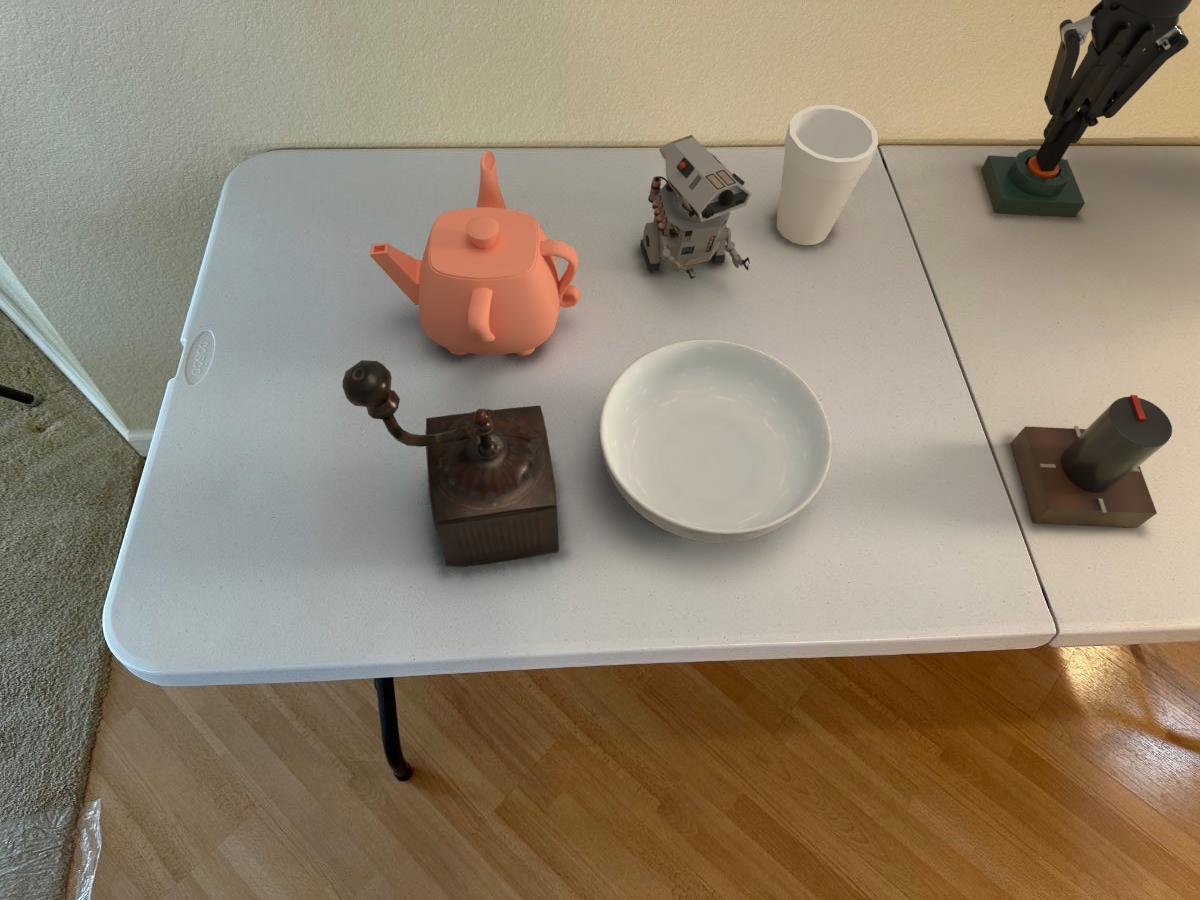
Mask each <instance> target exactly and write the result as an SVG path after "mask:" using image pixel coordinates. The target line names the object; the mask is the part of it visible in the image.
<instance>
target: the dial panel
mask: <svg viewBox="0 0 1200 900" xmlns="http://www.w3.org/2000/svg"><path fill="white" fill-rule="evenodd" d="M1086 429H1087V428H1080V427H1079V425H1073V428H1069V427H1068V428H1067V427H1047V426H1028V425H1027V426H1024V427H1023V428H1022V429H1021V430H1020V432H1019V433H1018V434H1017V435H1016V436H1015V437H1014V438H1013V439H1012V440H1011V442H1010V445H1011V448H1012V452H1013V456H1014V459H1015V463H1016V466H1017V470H1018V474H1019V477H1020V480H1021V484H1022V488H1023V492H1024V495H1025V498H1026V502H1027V506H1028V510H1029V514H1030V517H1031V520H1032V523H1033V524H1053V525H1073V526H1092V527H1093V526H1094V527H1115V528H1116V527H1117V528H1118V527H1119V528H1135V529H1137V528H1139V527H1140V526H1142V525H1143V524H1144V523H1146V522H1147V521H1149V520H1150V519H1151V518H1153V517H1154V516H1156V515H1157V514H1158V511H1157V509H1156V506H1155V504H1154V501H1153V499H1152V496H1151V493H1150V489H1149V487H1148V485H1147V482H1146V479H1145V477H1144V474H1143V471H1142V469H1141V465H1140V466H1138V467H1137V468H1136V469H1135V470H1134V471H1132V472H1131V473H1130V474H1129V475H1128V476H1127V477H1125V478H1124V479H1123V480H1122V481H1121V482H1119V483H1118V484H1117V485H1116V486H1115V487H1113V488H1112V489H1110V490H1108V491H1105V492H1093V491H1089V490H1086V489H1084V488H1082V487H1080V486H1078V485H1077V484H1075V483H1074V482H1073V481H1072V480H1071V479H1070V478H1069V477H1068V476H1067V475H1066V473H1065V471H1064V469H1063V467H1062V455H1063V453H1064V451H1065V450H1066V449H1067V448H1068V447H1069V446H1070V445H1071V444H1072V443H1073V442H1074V441H1075V440H1076V439H1077V438H1078V437H1079V436H1080V435H1081V434H1082V433H1083V432H1084V431H1085V430H1086Z"/></svg>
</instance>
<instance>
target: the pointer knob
mask: <svg viewBox="0 0 1200 900" xmlns="http://www.w3.org/2000/svg"><path fill="white" fill-rule="evenodd" d="M1085 429H1086V430H1085V431H1084V432H1083V433H1082V434H1081V435H1080V436H1079V437H1078V438H1077V439H1076V440H1075V441H1074V442H1073V443H1072V444H1071V445H1070V446H1069V447H1068V448H1067V449H1066V450H1065V451H1064V453H1063V455H1062V467H1063V469H1064V471H1065V473H1066V475H1067V476H1068V477H1069V478H1070V479H1071V480H1072V481H1073V482H1074V483H1075V484H1077V485H1078V486H1080V487H1082V488H1084V489H1086V490H1089V491H1093V492H1105V491H1108V490H1110V489H1112V488H1113V487H1115V486H1116V485H1117V484H1118V483H1119V482H1121V481H1122V480H1123V479H1124V478H1125V477H1127V476H1128V475H1129V474H1130V473H1131V472H1132V471H1134V470H1135V469H1136V468H1137V467H1138V466H1140V467H1141V465H1142V464H1143V463H1145V462H1146V461H1147V460H1148V459H1149V458H1151V457H1152V456H1153V455H1154V454H1155V453H1156V452H1158V451H1159V450H1160V449H1161V448H1162V447H1163V446H1165V445H1166V444H1168V443H1169V441H1170V440H1171V438H1172V436H1173V425H1172V422H1171V420H1170V419H1169V417H1168V415H1166V413H1165V411H1163V409H1161V408H1160V407H1159V406H1157V405H1156V404H1155V403H1154V402H1151V401H1149V400H1147V399H1144V398H1142V397H1139V396H1138V394H1130V395H1129V396H1123V397H1120V398H1117V399H1115V401H1113V402H1112V403H1111V404H1110V405H1109V406H1108V407H1107V408H1106V409H1105V410H1104V411H1103V412H1102V413H1101V414H1100V415H1099V416H1098V417H1097V418H1096V419H1095V420H1094V421H1093V422H1092V423H1091V424H1090V425H1089V426H1088V427H1087V428H1085Z"/></svg>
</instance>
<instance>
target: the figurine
mask: <svg viewBox="0 0 1200 900" xmlns="http://www.w3.org/2000/svg"><path fill="white" fill-rule="evenodd" d="M659 153H660V154H661V156H662V157H661V158H663V159H664V160H665V177H666V178H665V177H664V176H661V175H660V176H657V175H656V176H654V177H652V181H651V184H650V190H649V194H648V199H647V200H648V202H649V203H650V204H651V205H652V206H651V208H652V210H654V212H653V215H654V216H653V220H652V222H646V223H645V225H644V228H643V234H642V239H641V240H640V246H639V247H640V249H641V252H642V255H643V258H644V261H645V264H646V267H647V269H648V273H656V272H660V270H661V262H660V259H661V260H662V261H666V263H667V264H669V265H670V268H671V269H672V271H674V272H675V273H679V272H680V271H681V272H682V273H686V274H688V276H689V278H690V279H691V280H692V279H695V278H697V276H696V275H695V276H693V275H694V274H695V271H694V269H693V268H692V267H691V268H689V269H688V268H687V267H685V266H688V265H695V264H702V263H706V262H710V260H711V259H712V263H713V264H714V265H719V264H725V261H726V253H725V252H727V253H729V256H730V258H731V262H732V265H733V266H734V267H735V268H736V269H739V268H740V267H743V268H744V269H745V270H746V271H749V265H750V264H751V262H750V258H749V256H747V257H746V258H745V259H743V258H742V256H741V255H740V254H739V253H738V251H737V249H736V248H735V247H736V243H735V242H734V241H732V231H731V228H730V227H728V225H727V224H728V222H729V219H730V216H731V212H734V211H735V210H738V209H741V208H743V207H745V206H747V204H748V203H749V201H750V198H751V196H752V194H753V193H752V192H751V191H750V190H749V189H748V187H746V185H745V184H746V183H745V182H746V181H745V180H743V178H741V177H740V176H738V175H737V174H736V173H735V172H734V173H733V172H732V171H731V170H730V169H729V168H728V167H727V165H725V164H724V163H723V162H722V161H721V160H720V158H718V156H716V155H715V154H714V153H712V152H711V151H710V150H709V149H707V148H706V146H704V145H703V144H702V143H701V142H700V141H699V140H698V139H696V138H695V136H693V134H690V135H686V136H684V137H680V138H678V139H675V140H672V141H670V142H668V143H666V144H664V145H661V146H660V147H659ZM662 180H663V181H664V182H666V183H665V184H664V185H663V186H662V187H661V185H662ZM746 263H748V264H746ZM692 273H693V275H692Z"/></svg>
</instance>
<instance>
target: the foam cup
mask: <svg viewBox="0 0 1200 900" xmlns="http://www.w3.org/2000/svg"><path fill="white" fill-rule="evenodd" d="M878 146H879V137H878V131H877V129H876V128H875V126H874V125H873V124H872V123H871V122H870V121H869V119H868V118H867V117H865V116H863V115H862V114H859V113H858V112H857V111H854V110H853V109H850V108H848V107H843V106H838V105H835V104H822V105H821V104H820V105H818V104H817V105H811V106H809V107H806V108H804V109H800V110H798V111H797V112H796V113H795V114H794V116H793V117H792V118H791V119H790V120H789V124H788V127H787V131H786V134H785V137H784V157H783V164H782V165H783V166H782V173H781V181H780V190H779V197H778V204H777V205H778V206H777V214H776V229H777V231H778V232H779V234H780V235H781V237H783V238H785V239H786V240H787V241H789V242H790V243H793V244H797V245H801V246H815V245H817V244H819V243H821V242H824V241H825V240H826V238H827V237H828V235H829V234H830V232H831V231H832V229H833V227H834V225H835V223H836V222H837V220H838V219H839V216H840V215H841V213H842V212H843V209H844V208H845V206H846V204H847V203H848V200H849V199H850V197H851V195H852V194H853V192H854V190H855V188H856V186H857V185H858V182H859V181H860V179H861V177H862V176H863V174H864V173H865V172H866V170H867V169H868V168H869V166H870V165H871V163H872V161H873V159H874V156H875V153H876V151H877V149H878Z"/></svg>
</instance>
